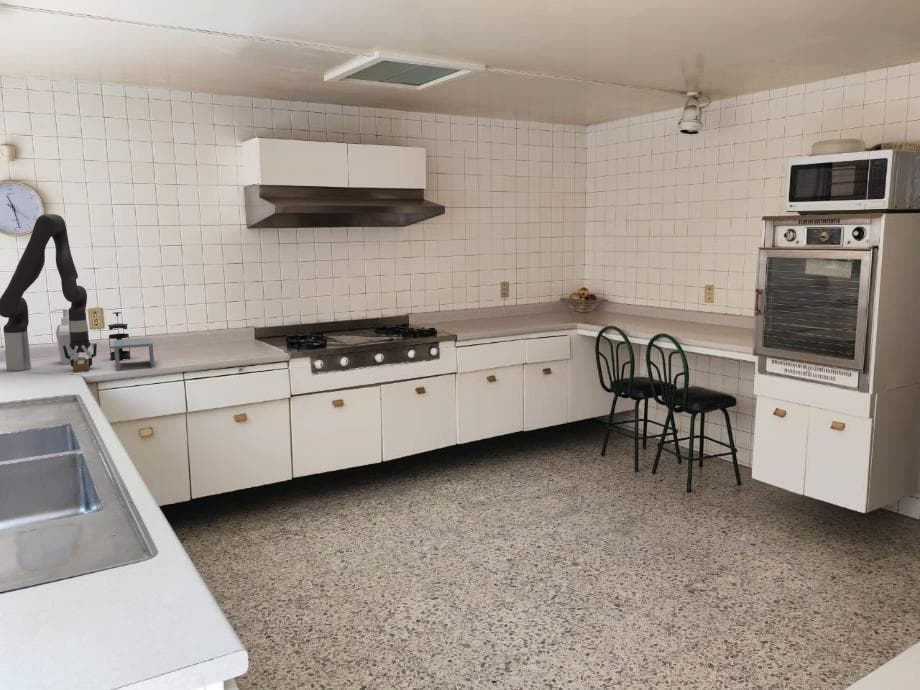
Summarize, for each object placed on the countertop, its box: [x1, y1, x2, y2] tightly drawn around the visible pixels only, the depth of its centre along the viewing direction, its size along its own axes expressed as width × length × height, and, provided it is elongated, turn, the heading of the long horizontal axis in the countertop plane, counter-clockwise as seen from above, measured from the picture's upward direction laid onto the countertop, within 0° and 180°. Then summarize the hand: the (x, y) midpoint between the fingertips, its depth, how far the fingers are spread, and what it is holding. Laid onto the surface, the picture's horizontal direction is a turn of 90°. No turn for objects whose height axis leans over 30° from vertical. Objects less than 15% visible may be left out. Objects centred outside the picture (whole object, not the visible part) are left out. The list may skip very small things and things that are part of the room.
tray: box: [72, 356, 91, 373], centre depth 334 cm, size 14×6×5 cm, turn 24°
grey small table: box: [113, 337, 155, 371], centre depth 341 cm, size 16×20×11 cm
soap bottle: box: [50, 308, 80, 365], centre depth 349 cm, size 12×10×26 cm
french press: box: [107, 311, 132, 361], centre depth 358 cm, size 12×9×23 cm
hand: (81, 366), depth 334 cm, fingers closed on tray, 6 cm apart
